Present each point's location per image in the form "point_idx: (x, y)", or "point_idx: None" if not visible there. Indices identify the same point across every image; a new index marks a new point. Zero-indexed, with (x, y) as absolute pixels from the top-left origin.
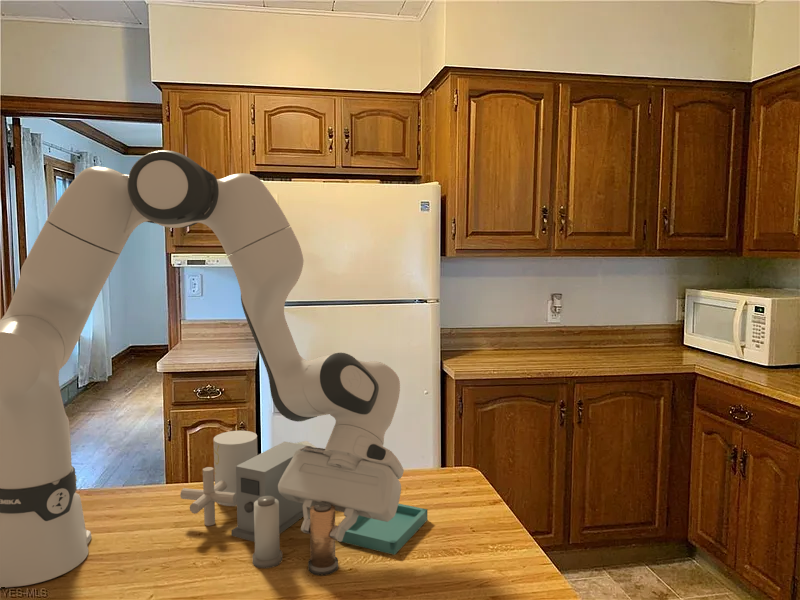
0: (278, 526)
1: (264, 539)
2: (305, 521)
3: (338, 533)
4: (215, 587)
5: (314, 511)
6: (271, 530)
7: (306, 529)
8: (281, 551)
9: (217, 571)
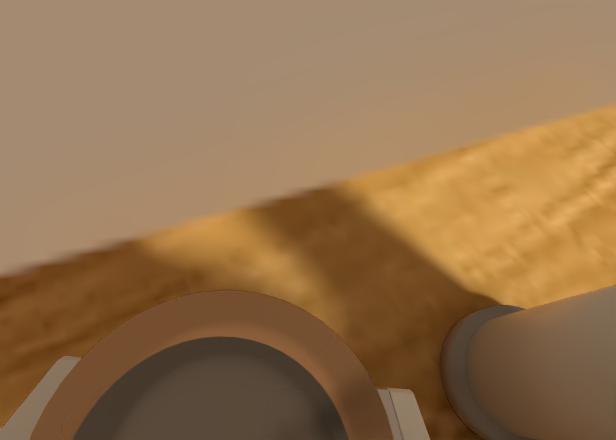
0: (577, 388)
1: (560, 300)
2: (406, 432)
3: (49, 372)
4: (525, 161)
5: (286, 339)
6: (572, 317)
7: None
8: (483, 429)
9: (595, 240)
